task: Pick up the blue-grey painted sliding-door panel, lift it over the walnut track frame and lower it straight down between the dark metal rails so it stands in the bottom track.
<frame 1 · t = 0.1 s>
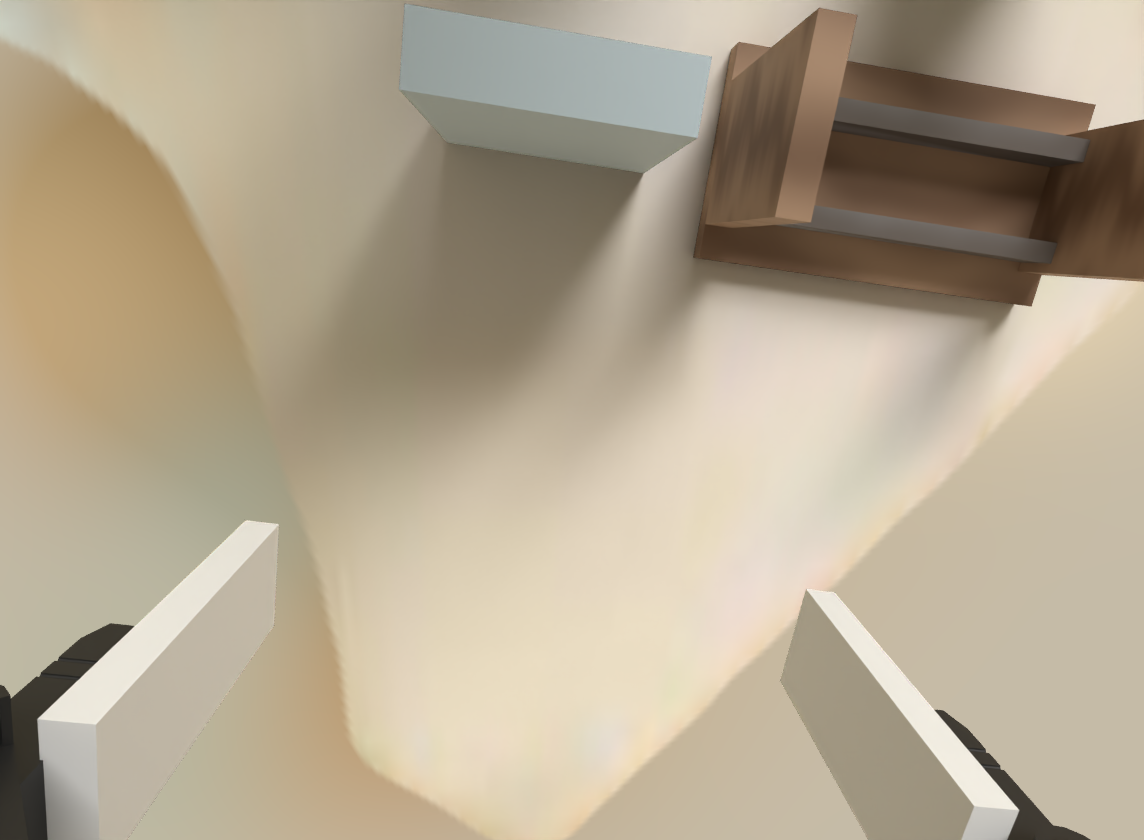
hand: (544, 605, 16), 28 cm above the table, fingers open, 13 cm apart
track frame: (881, 184, 41), on the table
door panel: (549, 131, 39), on the table
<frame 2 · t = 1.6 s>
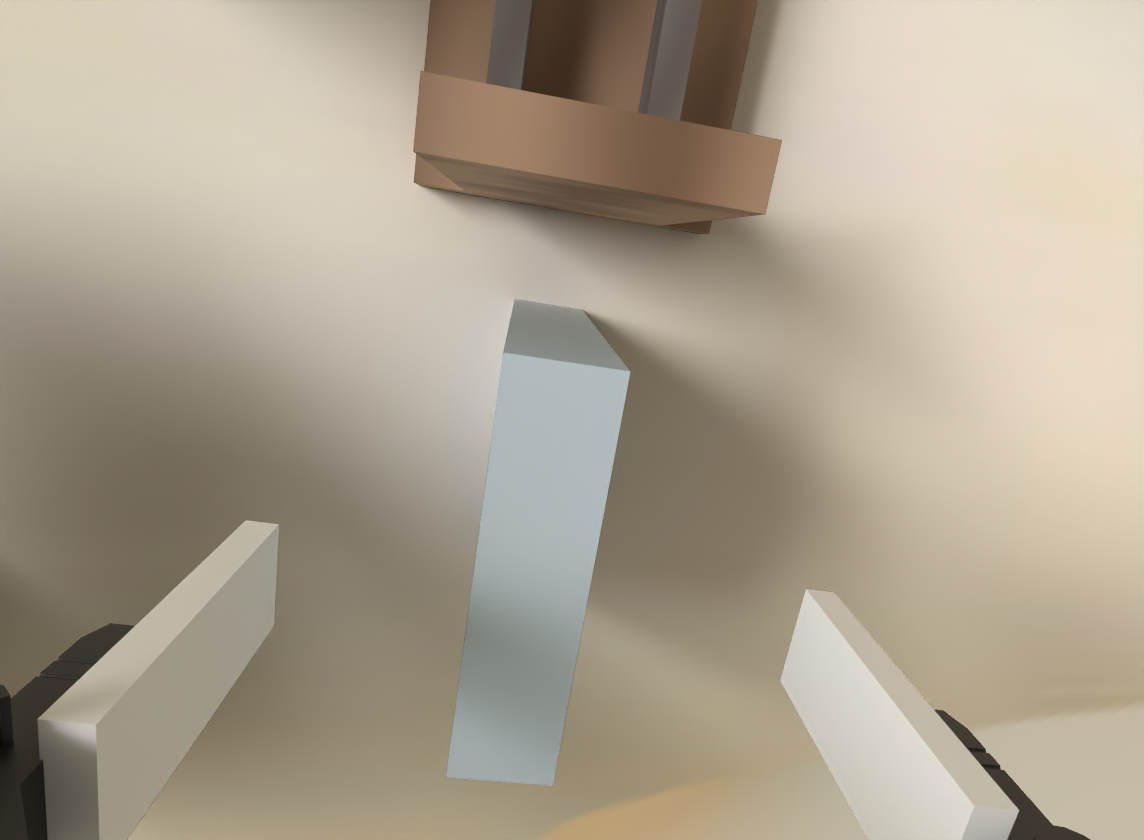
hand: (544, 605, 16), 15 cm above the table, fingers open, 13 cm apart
door panel: (529, 433, 30), on the table
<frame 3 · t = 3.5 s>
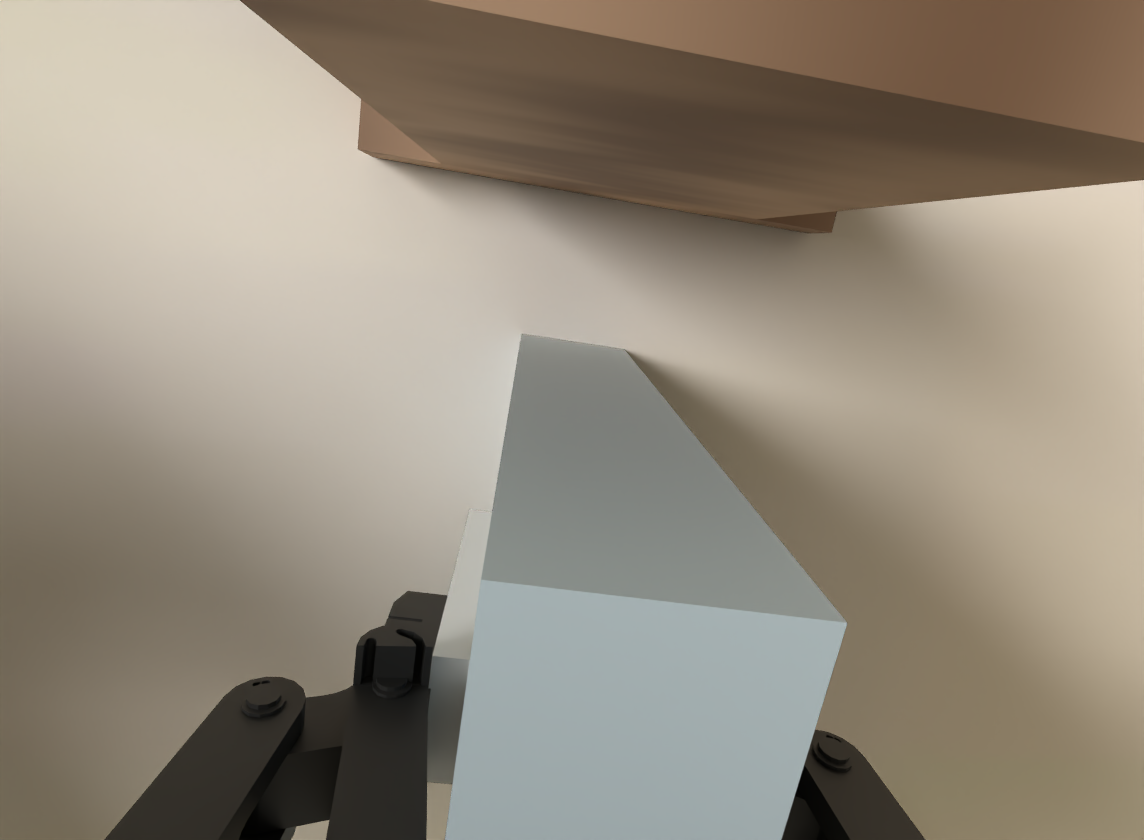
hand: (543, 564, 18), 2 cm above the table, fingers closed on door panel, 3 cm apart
door panel: (542, 531, 20), on the table, touching gripper
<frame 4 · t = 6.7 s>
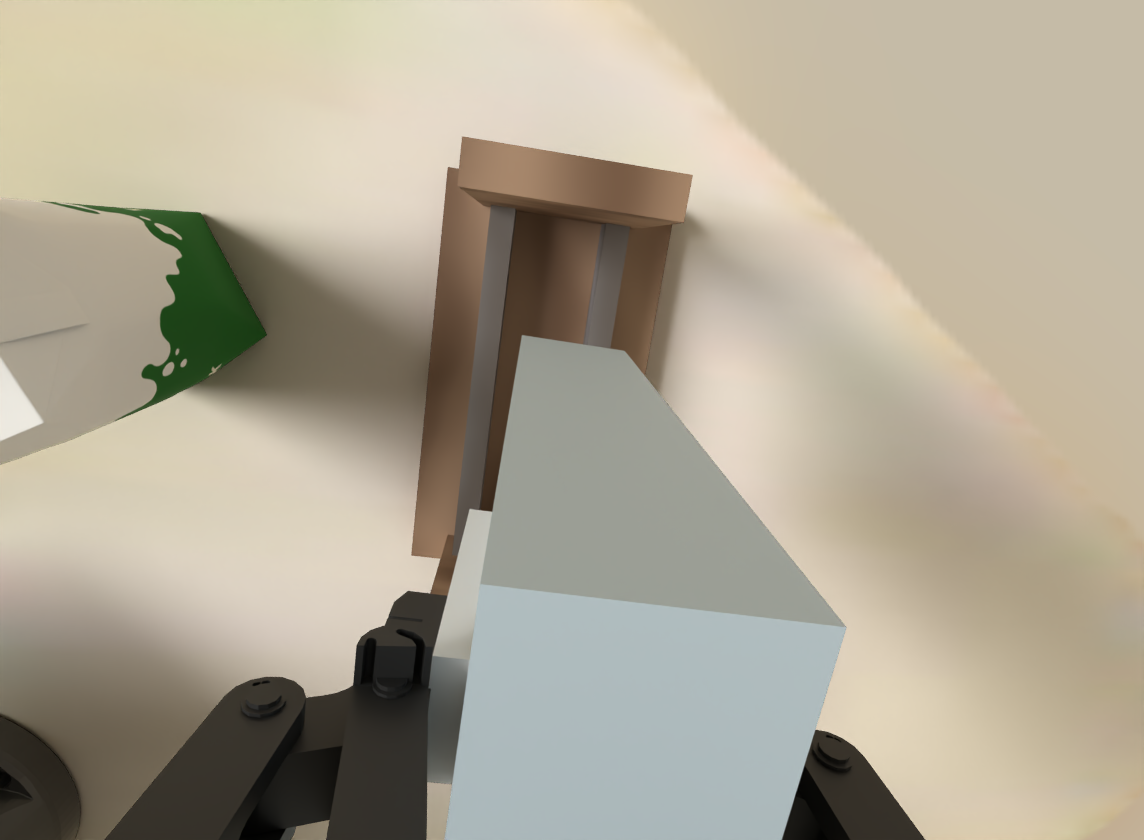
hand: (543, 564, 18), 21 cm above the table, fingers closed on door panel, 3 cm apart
track frame: (535, 384, 38), on the table
milk carton: (181, 300, 36), on the table
door panel: (542, 532, 20), point 19 cm above the table, touching gripper
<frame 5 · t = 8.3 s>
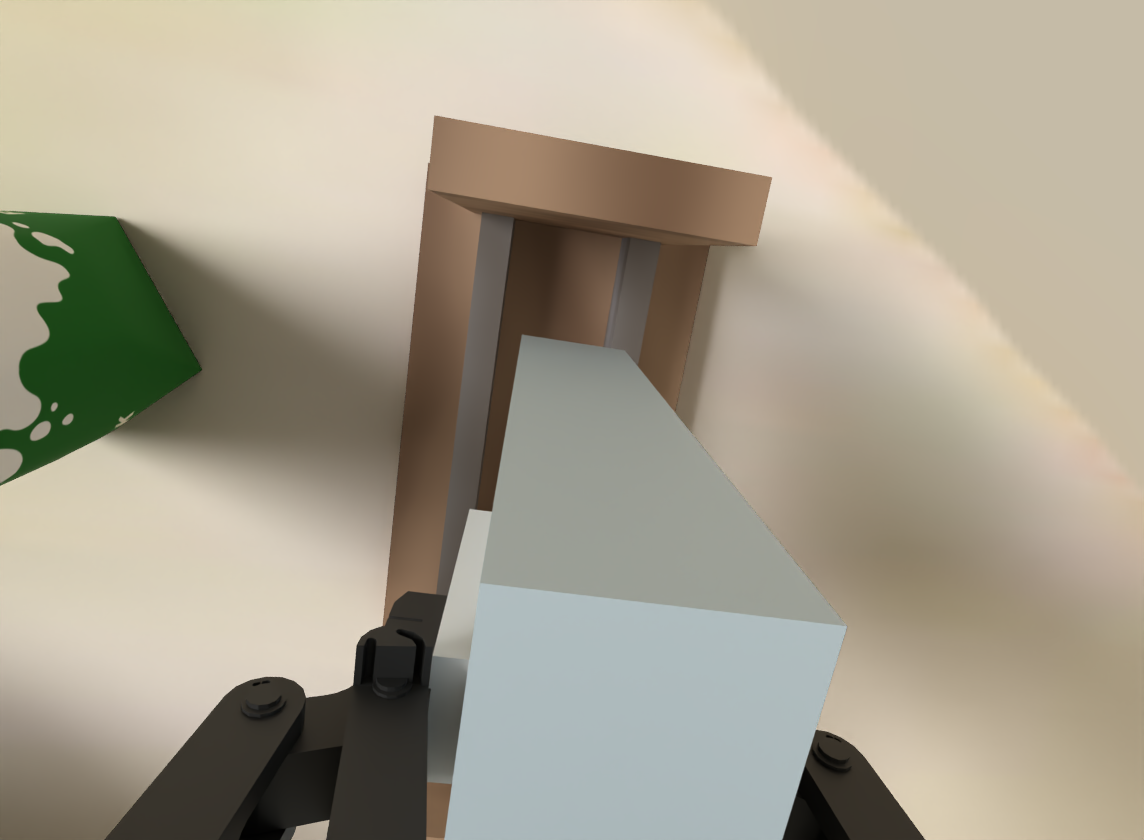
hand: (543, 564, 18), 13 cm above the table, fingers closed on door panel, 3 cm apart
track frame: (536, 433, 31), on the table
milk carton: (93, 326, 29), on the table
door panel: (542, 532, 20), point 11 cm above the table, touching gripper
when the fingers open (5 cm above the table, at t = 9.9 s): door panel drops 1 cm, resting on track frame.
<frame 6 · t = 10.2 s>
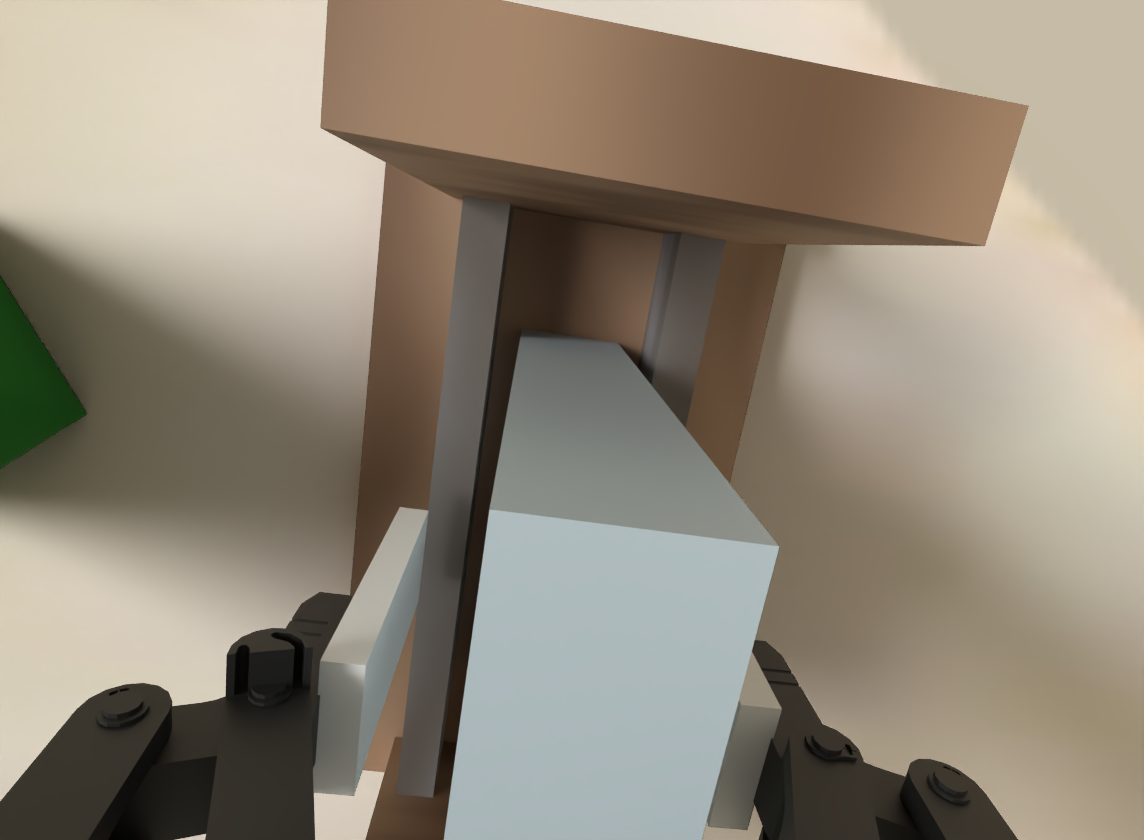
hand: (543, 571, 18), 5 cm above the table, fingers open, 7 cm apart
track frame: (542, 496, 23), on the table
door panel: (541, 513, 22), point 1 cm above the table, touching track frame
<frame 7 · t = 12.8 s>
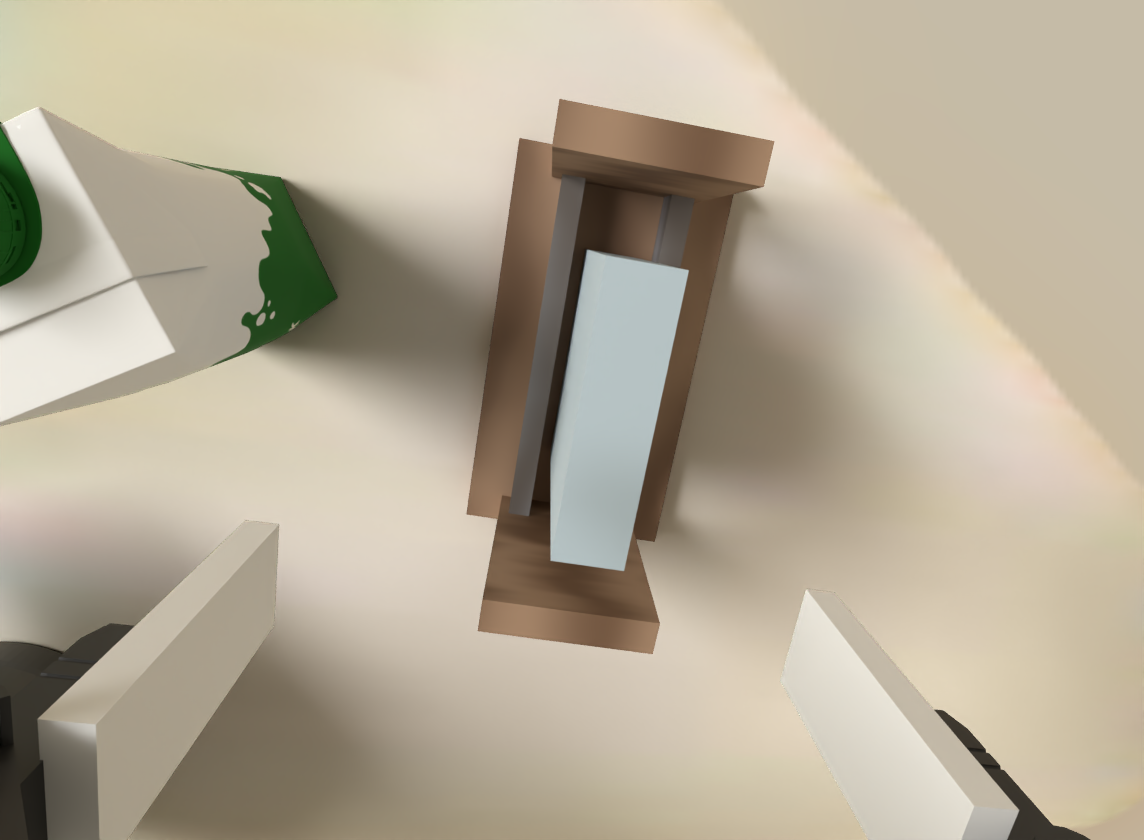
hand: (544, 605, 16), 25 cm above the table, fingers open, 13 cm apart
track frame: (591, 353, 39), on the table
milk carton: (257, 262, 38), on the table
door panel: (592, 358, 38), point 1 cm above the table, touching track frame
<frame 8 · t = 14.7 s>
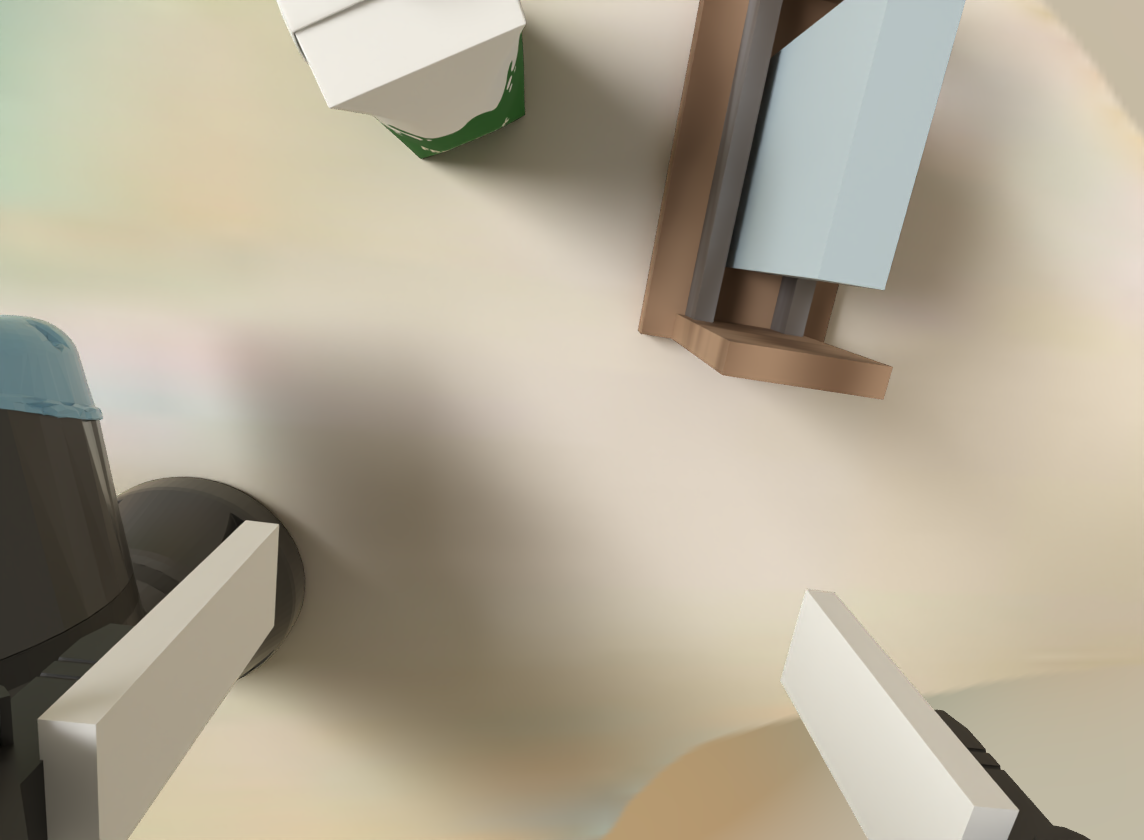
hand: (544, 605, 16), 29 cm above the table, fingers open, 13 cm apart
track frame: (762, 172, 41), on the table
milk carton: (449, 79, 39), on the table
door panel: (770, 170, 40), point 1 cm above the table, touching track frame
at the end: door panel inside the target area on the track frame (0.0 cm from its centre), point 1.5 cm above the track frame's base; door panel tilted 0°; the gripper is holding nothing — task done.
